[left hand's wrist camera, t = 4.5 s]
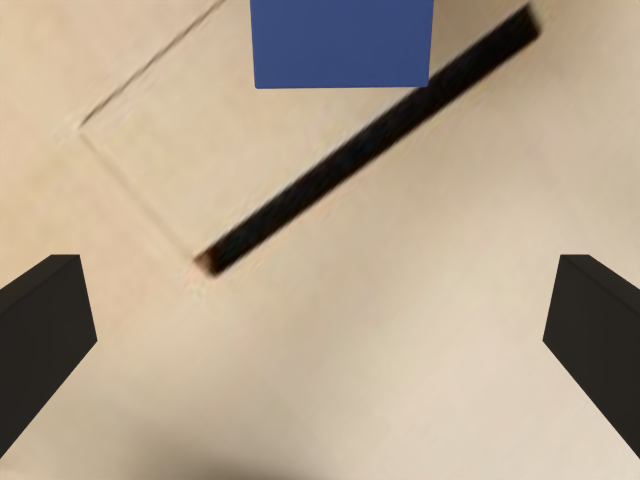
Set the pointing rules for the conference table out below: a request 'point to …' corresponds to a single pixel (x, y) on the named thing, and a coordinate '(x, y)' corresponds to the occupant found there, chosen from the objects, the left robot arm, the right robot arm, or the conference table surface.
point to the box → (341, 43)
